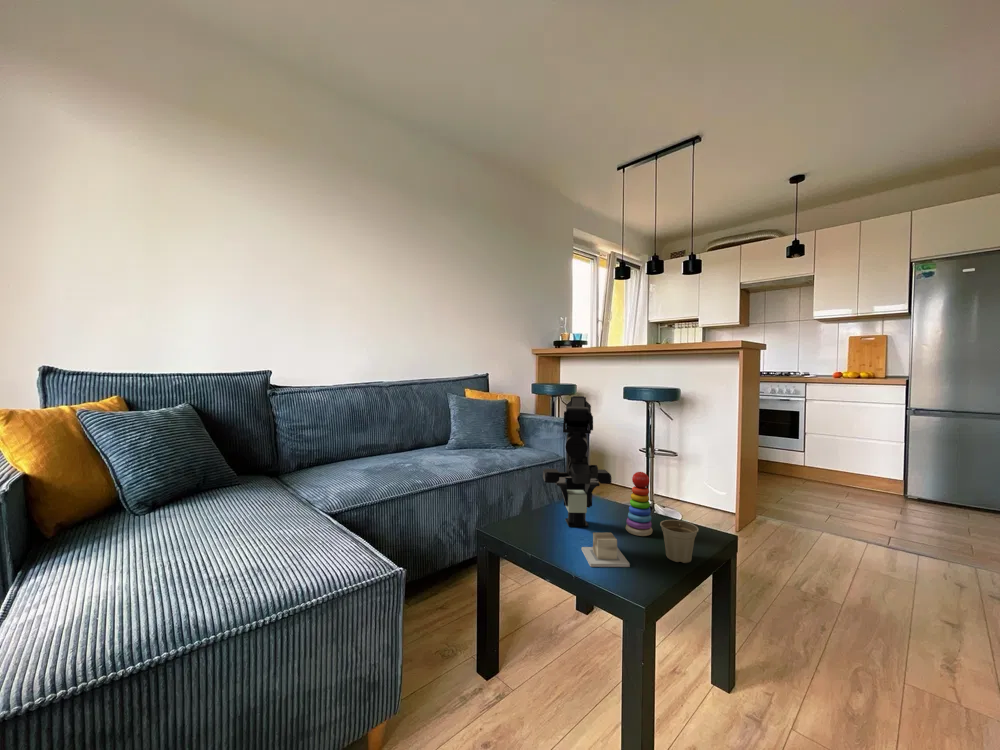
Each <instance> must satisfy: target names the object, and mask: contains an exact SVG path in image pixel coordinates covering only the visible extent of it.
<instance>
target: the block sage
mask: <svg viewBox="0 0 1000 750" xmlns="http://www.w3.org/2000/svg"><path fill="white" fill-rule="evenodd" d="M567 496H568V506H565V508H566V510H567V513H568V512H569V513H586V514H587V512H588V509H587V508H588V507H587V494H586V493H585V492H584V491H583V490H567Z"/></svg>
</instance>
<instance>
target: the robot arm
mask: <svg viewBox="0 0 1000 750" xmlns="http://www.w3.org/2000/svg"><path fill="white" fill-rule="evenodd" d="M565 406H566V409H565V411H563V423H562V424H563V425H562V426H563V427H562V432H563V433H565V434H566V433H567V435H566V442H565V451H566V472H565V471H562V472H561V471H560V472H559V470H558V469H557V468H544V470H543V471H542V479H543V480H544V483H546V484H555V486H556V487H558V486H559V488H560V491H561V494H562V498H563V506H564V507H566V506H568V496H567V490H583V491H584V492H585V493H586V494H587V508H591V507H592V506H593V491H594V489H596V487H600V486H601V484H603V485H604V484H608V485H609V484H612V474H611V473H610V472H608V470H606V469H599V467H598V465H597V464H589V462H588V435H589V434H592V431H594V416H593V415H592V414H593V413H592V405H591V404H590V403H589V402H588V401H587V397H586V396H580V395H578V396H577V395H576V396H575V395H573V396H571V397H570V400H569V402H568V403H566V405H565ZM586 514H587V513H569V512H568V511H567V517H565V518H564V521H565V522H566V524H567V526H568V527H571V528H572V527H574V528H575V527H577V528H584V527H585V528H589V526H590V525H589V523H588V521H587V520H586V518H587V517H586Z"/></svg>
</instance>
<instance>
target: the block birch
mask: <svg viewBox="0 0 1000 750" xmlns="http://www.w3.org/2000/svg"><path fill="white" fill-rule="evenodd" d="M592 547H593V552H594V554H595V555H596V557H597V559H617V548H618V539H617V538H616V537H615V535H614V534H613V533H612V532H592Z"/></svg>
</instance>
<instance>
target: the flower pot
mask: <svg viewBox="0 0 1000 750" xmlns="http://www.w3.org/2000/svg"><path fill="white" fill-rule="evenodd" d="M659 526H660V527H661V531H662V534H663V540H664V548H665V555H666V557H667V559H669V560H670V561H673V562H675V563H679V562H681V563H683V564H688V563H691V562H692V559H693V557H692V556H693V550H694V545H695V541H696V540H695V538H696V537H697V535H698V534H697V533H699V527H698V526H697V525H695V524H694V523H691V522H688V521H684V520H678V519H666V520H665V519H664V520H662V521H660V523H659Z"/></svg>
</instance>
